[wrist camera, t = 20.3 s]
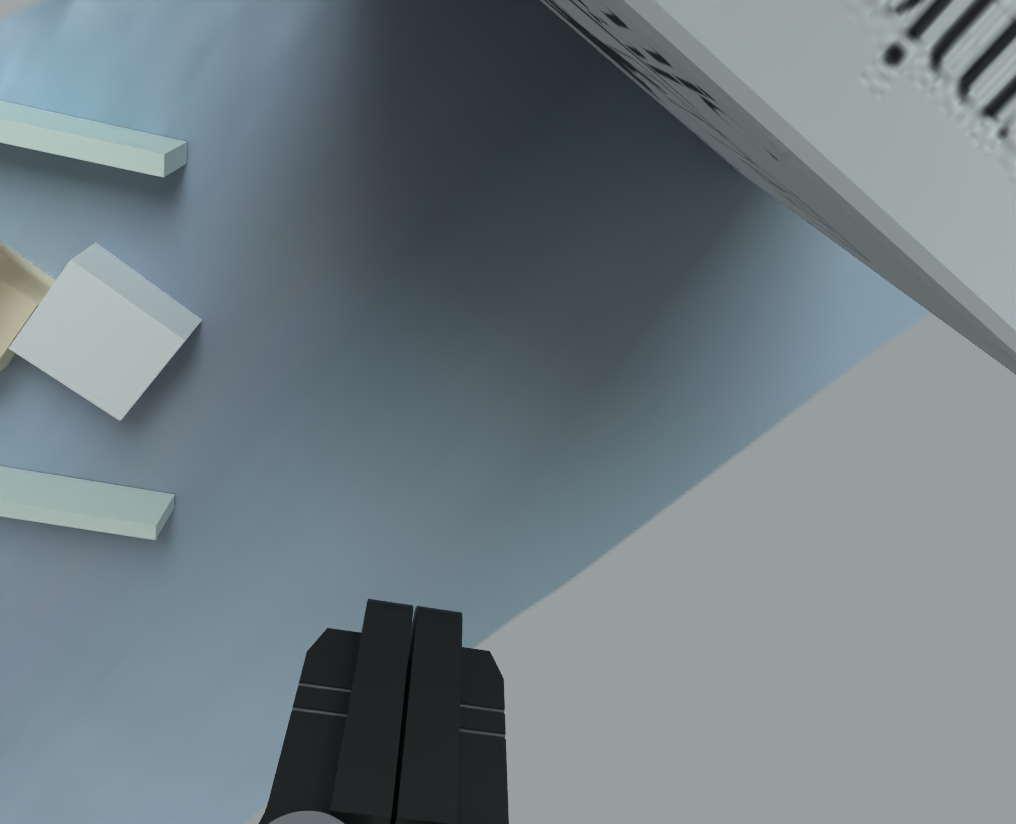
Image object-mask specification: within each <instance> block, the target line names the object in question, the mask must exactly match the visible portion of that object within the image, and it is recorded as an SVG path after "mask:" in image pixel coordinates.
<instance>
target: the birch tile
mask: <svg viewBox="0 0 1016 824" xmlns="http://www.w3.org/2000/svg"><path fill="white" fill-rule="evenodd" d="M55 281H56V280H54V279H53V278H51V277H50V276H49V275H47V274H46V273H44V272H43V271H41V270H40V269H39V268H37V267H36V266H34V265H33V264H31V263H30V262H29V261H27V260H26V259H24V258H23V257H21V256H20V255H19V254H17V253H16V252H14V251H13V250H11V249H10V248H9V247H7V246H6V245H4V244H3V243H1V242H0V371H2V370H3V369H4V368H5V367H7V365H8V364H9V362H10V361H11V360H12V358H13V357H14V355H15V354H16V353H15V352H13V351H12V350H10V349H8V348H9V346H10V345H11V344H12V342H13V341H14V339H15V338H16V337H17V335H18V334H19V332H20V331H21V329H22V328H23V327H24V325H25V324H26V322H27V321H28V319H29V318H30V317H31V315H32V314H33V312H34V311H35V309H36V308H37V307H38V305H39V304H40V302H41V301H42V300H43V298H44V297H45V295H46V294H47V292H48V291H49V290H50V288H51V287H52V285H53V284H54V282H55Z"/></svg>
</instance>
